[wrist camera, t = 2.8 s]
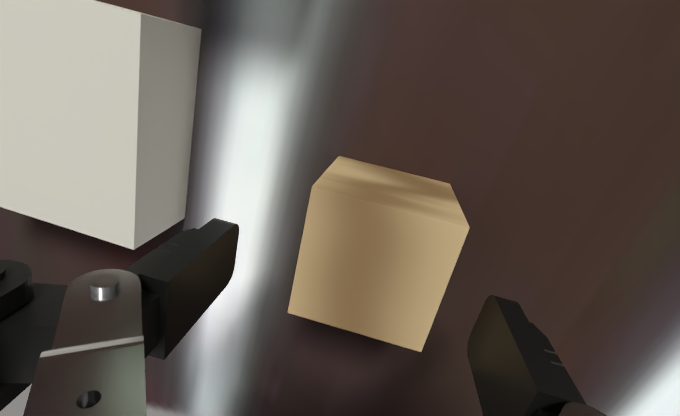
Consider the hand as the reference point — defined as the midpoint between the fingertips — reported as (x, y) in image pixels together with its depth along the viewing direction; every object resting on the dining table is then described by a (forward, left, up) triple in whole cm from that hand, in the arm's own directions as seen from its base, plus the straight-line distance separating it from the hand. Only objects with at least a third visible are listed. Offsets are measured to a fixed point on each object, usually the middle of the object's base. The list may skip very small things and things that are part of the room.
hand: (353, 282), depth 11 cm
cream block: (+14, -2, -6) cm, 15 cm away
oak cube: (0, 0, -6) cm, 6 cm away
